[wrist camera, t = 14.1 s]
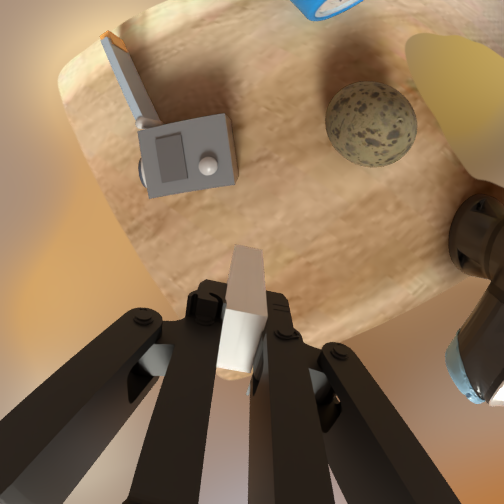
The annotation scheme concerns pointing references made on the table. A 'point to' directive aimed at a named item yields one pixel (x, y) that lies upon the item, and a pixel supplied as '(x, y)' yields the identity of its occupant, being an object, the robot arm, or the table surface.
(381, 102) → the decorative egg
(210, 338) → the robot arm
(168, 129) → the camera body
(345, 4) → the alarm clock
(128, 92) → the side door
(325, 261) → the table surface
